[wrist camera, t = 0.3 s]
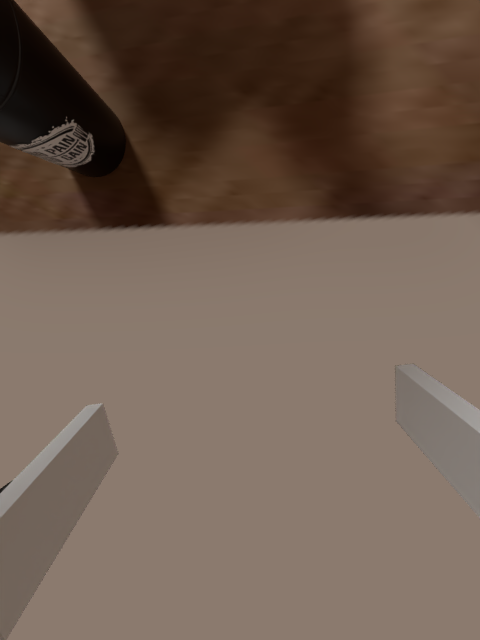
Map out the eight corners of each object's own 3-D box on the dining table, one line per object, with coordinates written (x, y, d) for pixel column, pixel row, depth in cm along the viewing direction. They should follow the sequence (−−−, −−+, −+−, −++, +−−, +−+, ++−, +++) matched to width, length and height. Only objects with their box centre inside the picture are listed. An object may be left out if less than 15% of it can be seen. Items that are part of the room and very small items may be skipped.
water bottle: (71, 194, 36) (-202, 112, 14) (35, 107, 34) (-364, -160, 12) (144, 170, 35) (-24, 40, 13) (112, 78, 33) (-159, -269, 11)
